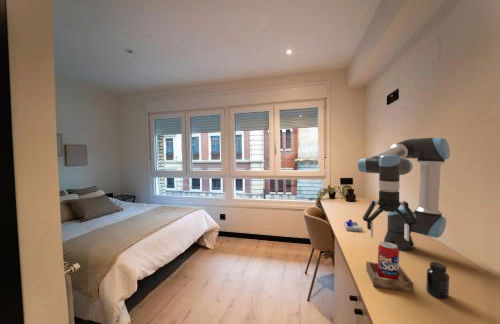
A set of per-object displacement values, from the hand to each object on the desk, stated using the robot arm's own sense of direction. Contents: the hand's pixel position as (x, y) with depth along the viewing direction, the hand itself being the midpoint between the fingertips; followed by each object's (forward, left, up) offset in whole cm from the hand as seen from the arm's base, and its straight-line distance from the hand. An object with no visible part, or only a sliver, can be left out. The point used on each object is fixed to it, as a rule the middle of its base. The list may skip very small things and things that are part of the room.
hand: (388, 238), depth 94 cm
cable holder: (+5, -69, -19) cm, 72 cm away
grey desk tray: (+4, -68, -19) cm, 70 cm away
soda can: (0, 0, -18) cm, 18 cm away
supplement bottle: (-16, +5, -19) cm, 25 cm away
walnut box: (0, 0, -19) cm, 19 cm away
